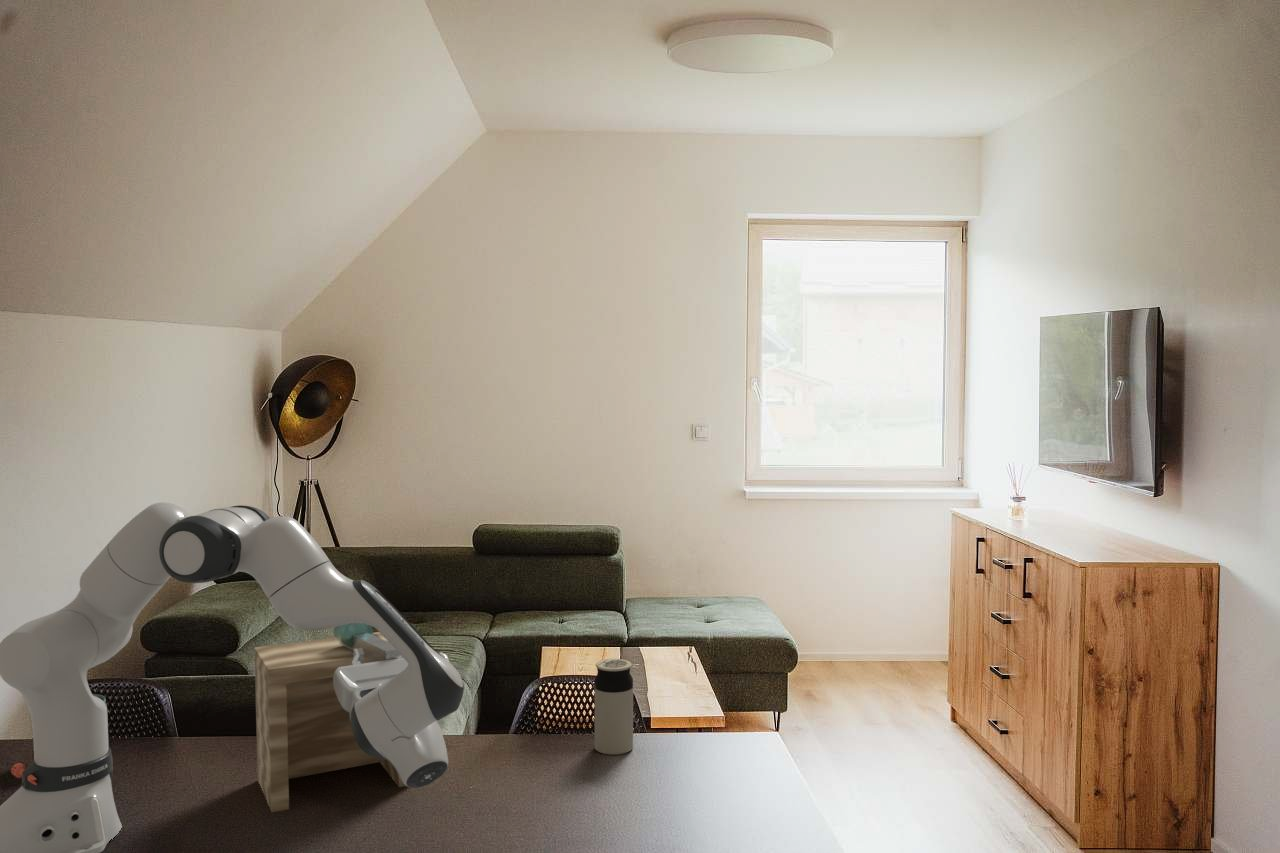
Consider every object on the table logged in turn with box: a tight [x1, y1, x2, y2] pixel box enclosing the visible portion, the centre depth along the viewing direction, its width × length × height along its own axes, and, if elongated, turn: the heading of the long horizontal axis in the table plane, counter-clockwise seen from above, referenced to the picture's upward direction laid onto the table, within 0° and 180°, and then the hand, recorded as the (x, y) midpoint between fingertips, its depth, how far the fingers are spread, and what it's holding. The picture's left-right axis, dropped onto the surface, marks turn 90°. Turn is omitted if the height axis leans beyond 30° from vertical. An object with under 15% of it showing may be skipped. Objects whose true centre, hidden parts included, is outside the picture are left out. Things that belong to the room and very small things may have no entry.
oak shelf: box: [254, 631, 407, 813], centre depth 199 cm, size 16×26×26 cm, turn 119°
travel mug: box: [594, 658, 634, 756], centre depth 216 cm, size 8×8×18 cm
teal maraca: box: [333, 623, 402, 662], centre depth 193 cm, size 20×6×6 cm, turn 39°
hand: (383, 647), depth 189 cm, fingers open, 8 cm apart
